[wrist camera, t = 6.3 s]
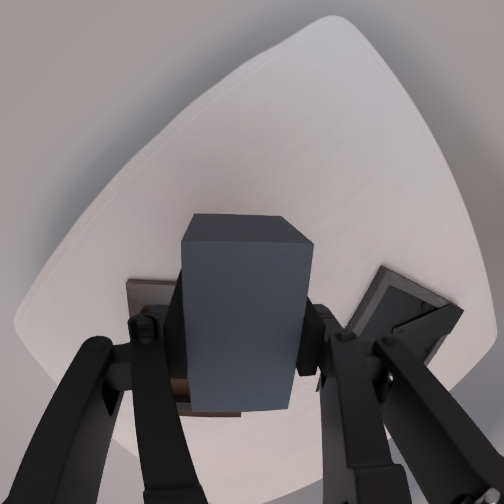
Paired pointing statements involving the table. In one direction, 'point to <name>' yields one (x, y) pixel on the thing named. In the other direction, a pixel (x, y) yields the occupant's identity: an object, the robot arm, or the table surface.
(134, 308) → the back plate
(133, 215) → the table surface
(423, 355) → the picture frame
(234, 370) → the pad block
